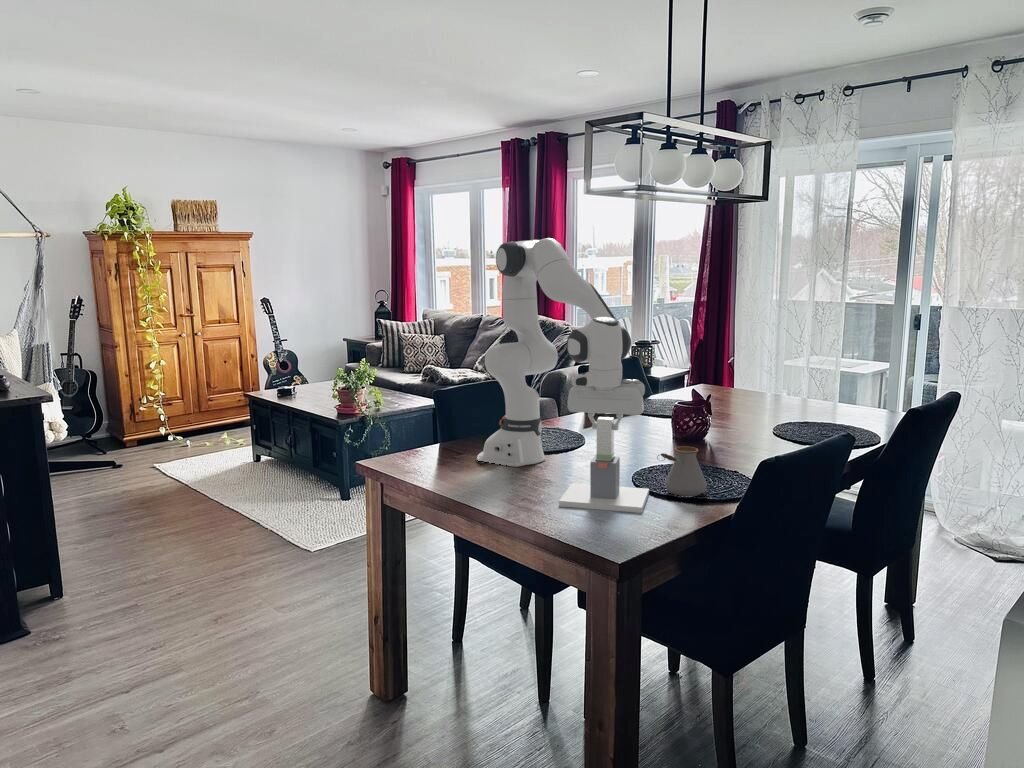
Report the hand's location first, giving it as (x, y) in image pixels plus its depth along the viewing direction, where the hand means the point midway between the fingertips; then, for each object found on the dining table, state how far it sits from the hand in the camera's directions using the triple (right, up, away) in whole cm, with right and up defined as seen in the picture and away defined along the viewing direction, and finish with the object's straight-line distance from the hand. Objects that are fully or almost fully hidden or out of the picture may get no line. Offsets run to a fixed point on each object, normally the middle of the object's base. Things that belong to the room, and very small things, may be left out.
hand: (605, 429), depth 197 cm
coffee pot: (+20, -19, +4) cm, 28 cm away
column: (0, -13, +2) cm, 13 cm away
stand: (0, -20, +3) cm, 20 cm away
